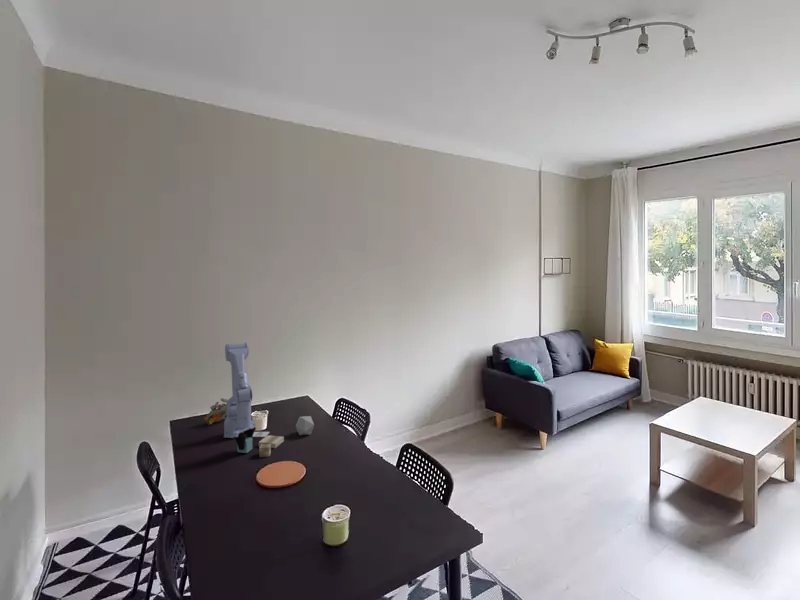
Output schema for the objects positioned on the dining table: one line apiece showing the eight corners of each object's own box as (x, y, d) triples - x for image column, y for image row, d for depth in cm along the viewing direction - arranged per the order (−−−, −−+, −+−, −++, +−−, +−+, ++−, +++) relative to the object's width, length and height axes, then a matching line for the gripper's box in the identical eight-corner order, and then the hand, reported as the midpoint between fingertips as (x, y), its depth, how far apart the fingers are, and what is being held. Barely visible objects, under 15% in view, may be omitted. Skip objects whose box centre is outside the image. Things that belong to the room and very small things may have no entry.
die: (307, 440, 195) (318, 420, 199) (290, 430, 195) (302, 411, 198) (307, 439, 203) (318, 420, 207) (291, 430, 203) (302, 411, 206)
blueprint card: (248, 436, 197) (248, 436, 197) (253, 431, 203) (253, 431, 203) (265, 436, 197) (265, 436, 197) (269, 432, 203) (269, 431, 203)
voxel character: (207, 425, 216) (233, 407, 225) (217, 435, 211) (243, 415, 220) (199, 411, 210) (226, 392, 218) (209, 420, 204) (236, 401, 213)
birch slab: (258, 447, 186) (258, 442, 186) (267, 440, 194) (267, 435, 194) (275, 449, 185) (275, 443, 184) (283, 441, 192) (283, 436, 192)
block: (259, 457, 176) (259, 447, 175) (261, 453, 180) (260, 444, 179) (269, 456, 176) (269, 447, 176) (270, 452, 180) (270, 443, 180)
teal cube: (237, 452, 179) (236, 440, 179) (243, 447, 183) (242, 436, 183) (246, 453, 178) (246, 441, 178) (252, 448, 183) (252, 437, 182)
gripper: (243, 422, 172) (244, 455, 173) (261, 411, 186) (262, 441, 187) (227, 421, 173) (228, 453, 174) (246, 410, 187) (247, 439, 188)
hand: (244, 447), depth 181 cm, fingers closed on teal cube, 4 cm apart
